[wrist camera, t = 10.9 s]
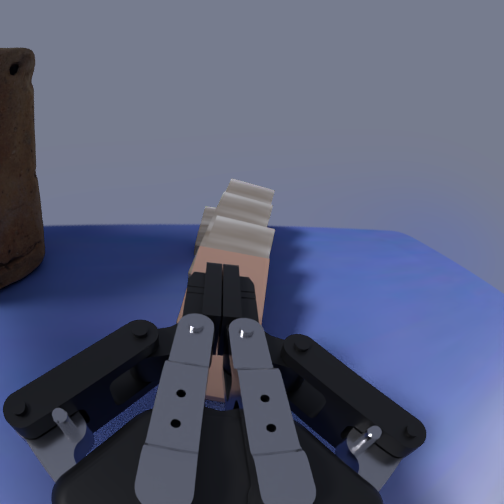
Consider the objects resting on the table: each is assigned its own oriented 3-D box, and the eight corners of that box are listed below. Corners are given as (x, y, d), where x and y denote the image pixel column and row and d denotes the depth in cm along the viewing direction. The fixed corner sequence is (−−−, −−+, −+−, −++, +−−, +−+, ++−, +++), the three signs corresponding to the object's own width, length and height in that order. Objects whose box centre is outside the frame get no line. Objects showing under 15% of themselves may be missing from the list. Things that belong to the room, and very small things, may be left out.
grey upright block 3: (249, 291, 23) (272, 205, 29) (188, 273, 23) (224, 191, 29) (246, 300, 24) (269, 216, 30) (188, 283, 24) (222, 202, 30)
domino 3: (250, 402, 15) (269, 258, 21) (161, 384, 15) (199, 245, 21) (247, 406, 16) (265, 271, 22) (165, 390, 16) (199, 259, 22)
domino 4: (254, 260, 27) (274, 190, 33) (201, 245, 27) (231, 178, 33) (252, 270, 28) (271, 200, 34) (201, 255, 28) (230, 188, 34)
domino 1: (245, 251, 29) (244, 211, 38) (194, 245, 29) (205, 206, 37) (243, 265, 30) (242, 222, 39) (193, 258, 30) (204, 217, 38)
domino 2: (249, 341, 19) (275, 229, 25) (176, 321, 19) (217, 215, 25) (247, 349, 20) (271, 241, 26) (178, 330, 20) (216, 227, 26)
